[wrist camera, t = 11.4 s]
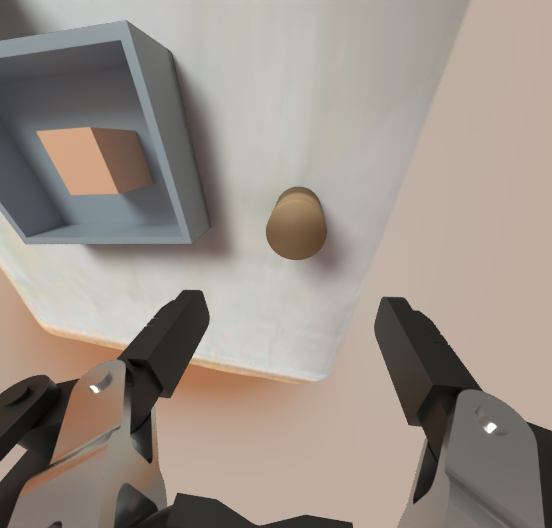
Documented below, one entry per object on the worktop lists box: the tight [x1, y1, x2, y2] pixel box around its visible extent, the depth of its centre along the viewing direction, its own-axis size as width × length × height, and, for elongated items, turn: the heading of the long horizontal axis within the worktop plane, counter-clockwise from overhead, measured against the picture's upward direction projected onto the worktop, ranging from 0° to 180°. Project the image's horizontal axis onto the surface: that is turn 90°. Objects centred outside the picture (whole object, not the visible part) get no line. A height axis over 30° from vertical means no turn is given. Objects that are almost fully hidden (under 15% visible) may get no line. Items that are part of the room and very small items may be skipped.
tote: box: [0, 20, 211, 244], centre depth 20 cm, size 16×21×5 cm
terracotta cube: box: [36, 127, 153, 195], centre depth 19 cm, size 5×5×5 cm
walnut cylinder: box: [266, 187, 327, 260], centre depth 20 cm, size 5×5×7 cm
